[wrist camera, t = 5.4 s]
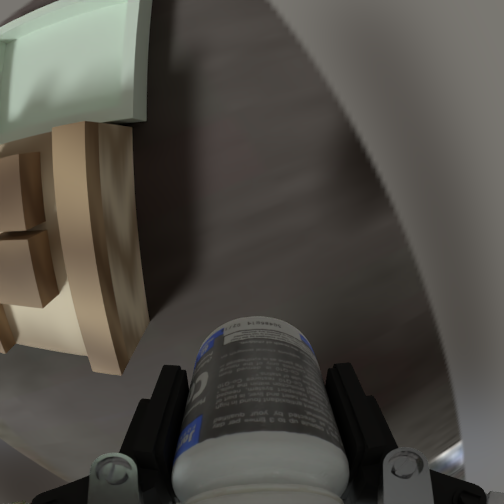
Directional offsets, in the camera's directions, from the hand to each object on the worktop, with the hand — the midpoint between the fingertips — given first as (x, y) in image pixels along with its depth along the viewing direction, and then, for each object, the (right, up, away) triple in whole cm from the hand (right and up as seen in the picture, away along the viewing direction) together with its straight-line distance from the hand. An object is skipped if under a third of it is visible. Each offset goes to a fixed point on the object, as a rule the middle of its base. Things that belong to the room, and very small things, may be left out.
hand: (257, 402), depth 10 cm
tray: (-14, +18, +7) cm, 24 cm away
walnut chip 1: (-14, +9, +4) cm, 17 cm away
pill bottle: (0, +1, +2) cm, 2 cm away
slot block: (-14, +7, +10) cm, 19 cm away
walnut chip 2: (-14, +4, +6) cm, 16 cm away
